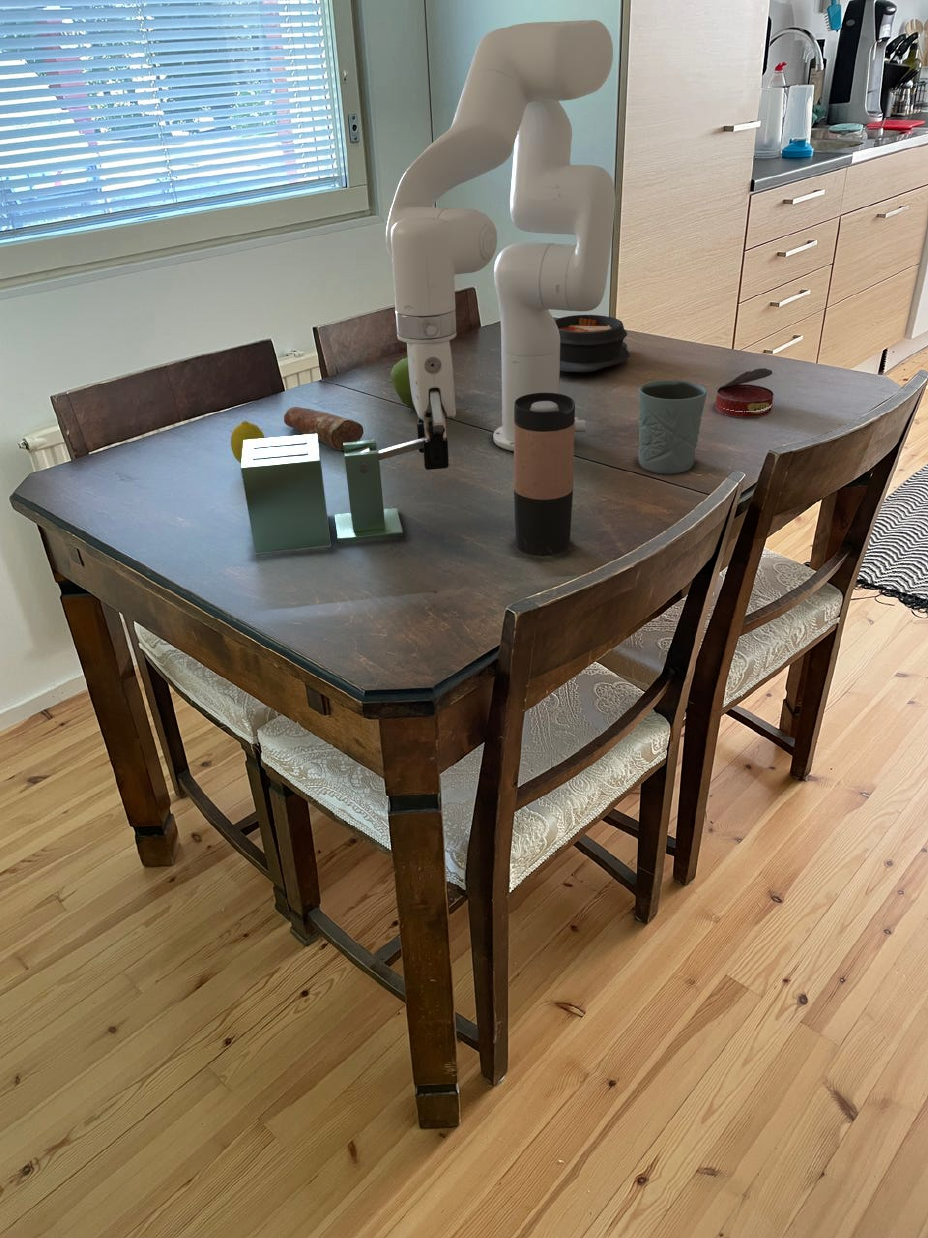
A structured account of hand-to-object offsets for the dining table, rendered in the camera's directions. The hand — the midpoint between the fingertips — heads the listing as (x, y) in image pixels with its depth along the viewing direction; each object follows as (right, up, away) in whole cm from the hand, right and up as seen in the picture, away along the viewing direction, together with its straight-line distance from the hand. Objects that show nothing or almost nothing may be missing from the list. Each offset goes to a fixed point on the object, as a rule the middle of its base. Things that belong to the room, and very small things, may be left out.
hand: (433, 458), depth 126 cm
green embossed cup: (+36, +3, +21) cm, 42 cm away
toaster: (-20, -11, +3) cm, 22 cm away
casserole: (+30, +32, +69) cm, 82 cm away
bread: (-21, +9, +36) cm, 43 cm away
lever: (-5, 0, -1) cm, 5 cm away
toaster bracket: (-9, -9, +4) cm, 14 cm away
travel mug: (+15, -12, -2) cm, 19 cm away
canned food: (+55, +16, +42) cm, 71 cm away
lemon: (-30, +3, +25) cm, 40 cm away
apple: (-4, +18, +48) cm, 52 cm away
